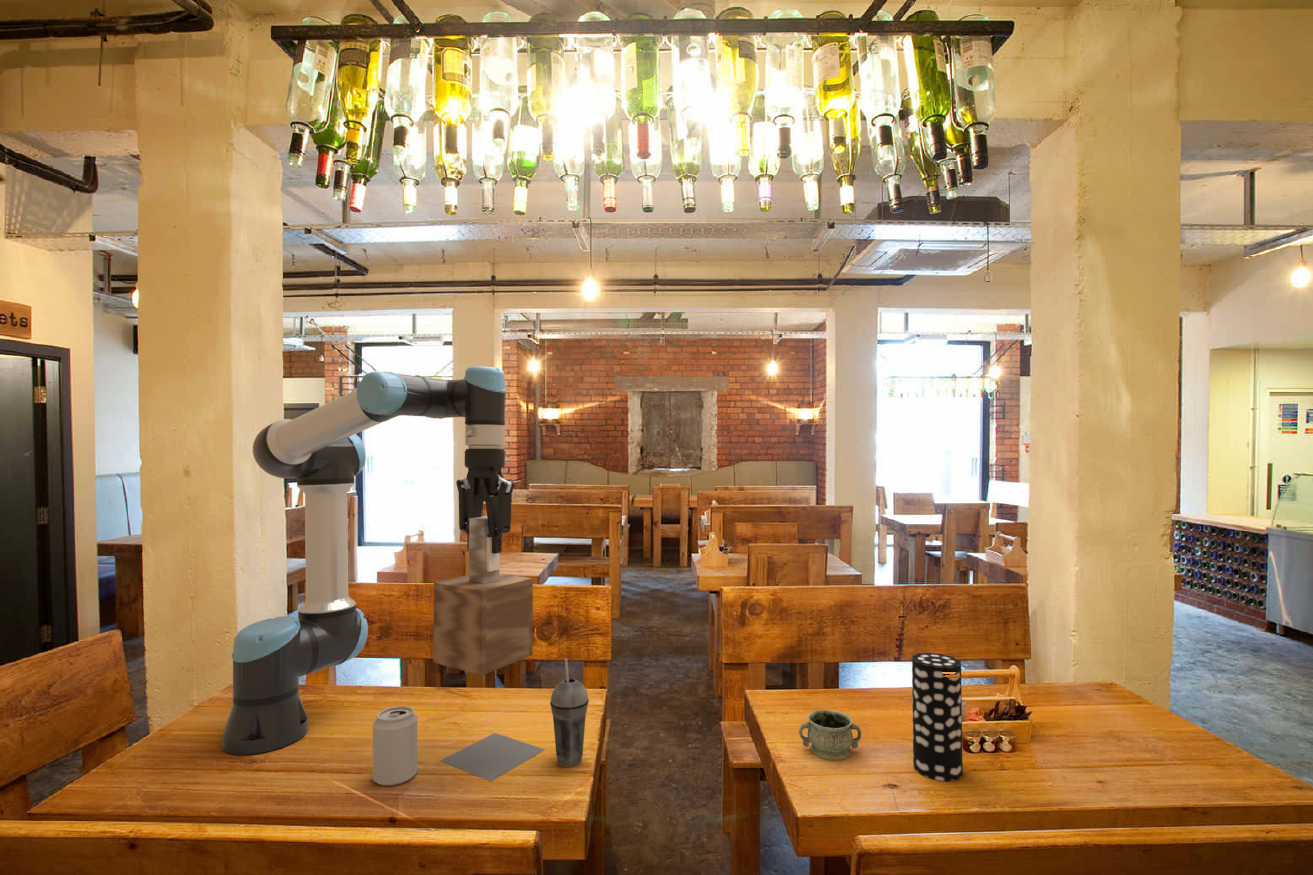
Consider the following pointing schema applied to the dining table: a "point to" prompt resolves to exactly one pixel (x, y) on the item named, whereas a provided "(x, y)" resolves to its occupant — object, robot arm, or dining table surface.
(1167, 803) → the dining table surface
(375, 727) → the can
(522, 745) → the mat
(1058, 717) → the dining table surface
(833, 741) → the vessel
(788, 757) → the dining table surface
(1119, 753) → the dining table surface
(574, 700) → the beverage cup
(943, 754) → the white-spotted black cylinder
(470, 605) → the wooden block with peg
